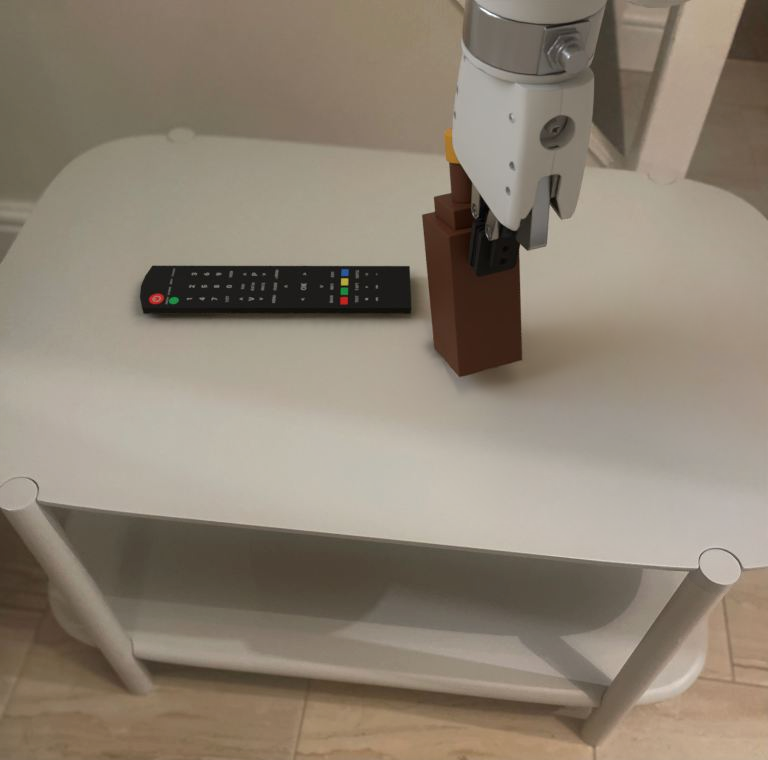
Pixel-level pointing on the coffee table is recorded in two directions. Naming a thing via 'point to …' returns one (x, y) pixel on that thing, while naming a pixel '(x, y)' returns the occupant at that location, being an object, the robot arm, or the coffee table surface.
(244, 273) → the remote control
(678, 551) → the coffee table surface
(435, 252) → the bottle
